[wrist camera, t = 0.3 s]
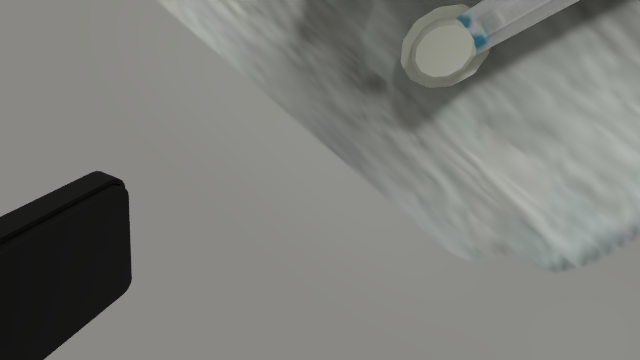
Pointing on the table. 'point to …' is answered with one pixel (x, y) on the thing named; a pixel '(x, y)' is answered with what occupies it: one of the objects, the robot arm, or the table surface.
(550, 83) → the table surface
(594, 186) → the table surface
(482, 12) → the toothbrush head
